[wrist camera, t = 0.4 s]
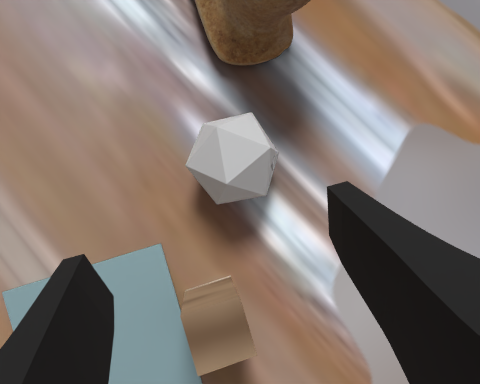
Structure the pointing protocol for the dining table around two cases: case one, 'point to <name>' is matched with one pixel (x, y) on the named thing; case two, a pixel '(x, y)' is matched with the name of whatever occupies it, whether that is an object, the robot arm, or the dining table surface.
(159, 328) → the mat
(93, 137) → the dining table surface
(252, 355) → the walnut block
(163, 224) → the dining table surface
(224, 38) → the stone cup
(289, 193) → the dining table surface
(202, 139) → the die
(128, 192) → the dining table surface
